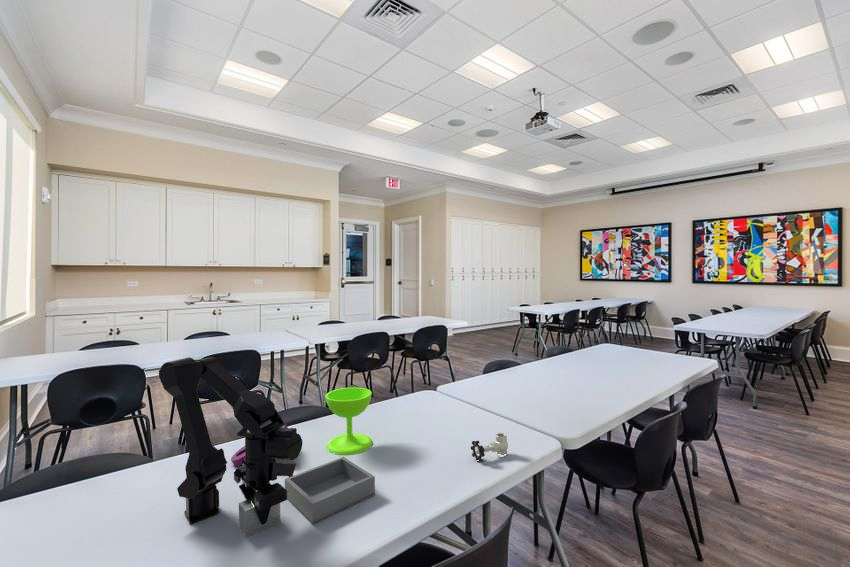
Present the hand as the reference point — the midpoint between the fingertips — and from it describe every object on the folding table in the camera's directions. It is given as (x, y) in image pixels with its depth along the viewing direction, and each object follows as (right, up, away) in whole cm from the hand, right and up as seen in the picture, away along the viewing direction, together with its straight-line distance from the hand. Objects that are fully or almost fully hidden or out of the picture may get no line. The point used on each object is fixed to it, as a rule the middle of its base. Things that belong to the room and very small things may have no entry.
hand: (260, 519), depth 91 cm
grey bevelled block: (0, -1, 0) cm, 1 cm away
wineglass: (+13, -1, +43) cm, 45 cm away
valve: (+61, 0, +32) cm, 69 cm away
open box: (+14, -1, +12) cm, 18 cm away
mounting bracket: (-14, -2, +34) cm, 37 cm away
